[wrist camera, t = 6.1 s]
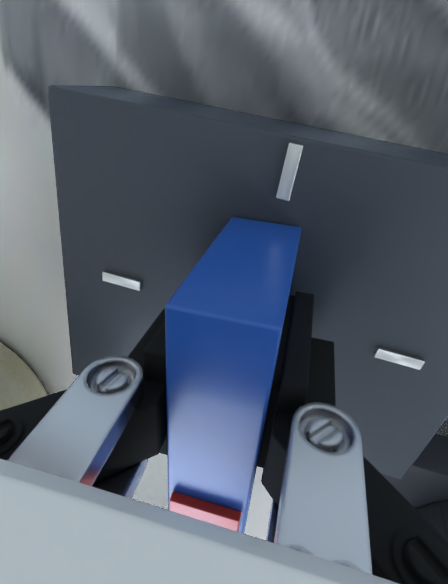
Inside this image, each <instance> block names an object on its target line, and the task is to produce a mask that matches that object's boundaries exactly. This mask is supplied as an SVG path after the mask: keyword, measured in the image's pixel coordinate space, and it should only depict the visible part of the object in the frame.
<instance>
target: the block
mask: <svg viewBox="0 0 448 584" xmlns="http://www.w3.org/2000/svg"><path fill="white" fill-rule="evenodd" d="M381 474H382V473H381ZM382 475H383V476H384V477H385V478H386V479H387V480H388V481H389V482H390V483H391V484H392V485H393V486H394V487H395V488H396V490H397V491H398V492H399V493H400V494H401V495H402V496H403V497H404V498H405V499H406V500H407V501H408V502H409V503H410V504H411V505H412V506H413V507H414V508H415V509H416V510H417V511H418V512H419V513H420V514H421V515H422V516H423V517H424V518H425V519H426V520H427V521H428V522H429V523H430V524H431V525H432V526H433V527H434V528H435V529H436V530H437V531H438V532H439V533H440V534H441V535H442V536H443V537H444V538H445V539H446V540H447V541H448V438H446V437H442V436H439V435H436V434H435V435H434V436H433V438H432V439H431V440H430V442H429V443H428V444H427V446H426V447H425V448H424V450H423V451H422V452H421V454H420V455H419V457H418V458H417V459H416V461H415V462H414V463H413V465H412V466H411V467H410V469H409V470H408V471H407V473H406V474H405V475H404V477H403V478H402V479H397V478H394V477H391V476H388V475H385V474H382Z"/></svg>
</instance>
